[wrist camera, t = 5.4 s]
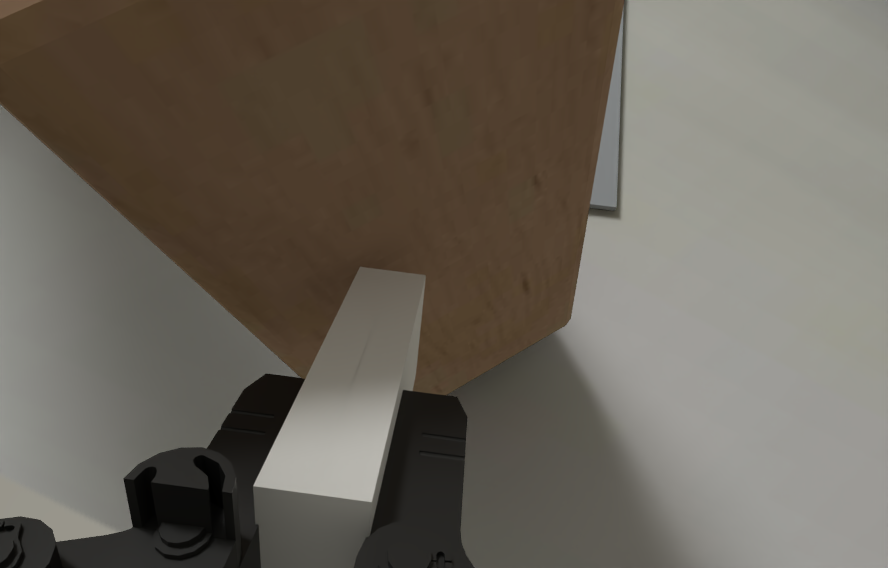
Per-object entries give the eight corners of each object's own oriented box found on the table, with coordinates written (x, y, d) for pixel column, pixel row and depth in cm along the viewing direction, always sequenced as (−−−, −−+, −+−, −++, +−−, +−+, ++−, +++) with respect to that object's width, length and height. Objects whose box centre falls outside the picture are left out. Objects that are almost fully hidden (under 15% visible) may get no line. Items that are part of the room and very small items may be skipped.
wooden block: (574, 324, 25) (690, -295, 7) (368, 444, 24) (-86, 49, 6) (459, 169, 30) (360, -446, 12) (280, 263, 28) (-127, -265, 11)
